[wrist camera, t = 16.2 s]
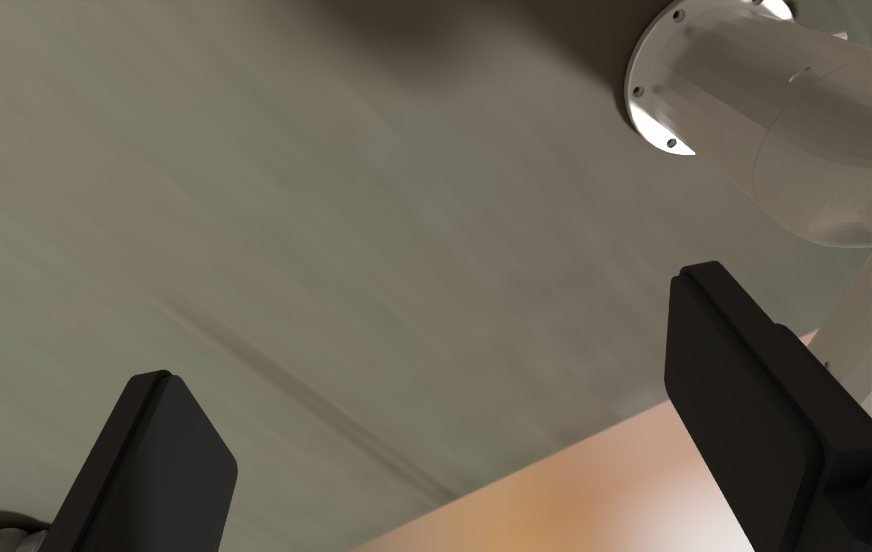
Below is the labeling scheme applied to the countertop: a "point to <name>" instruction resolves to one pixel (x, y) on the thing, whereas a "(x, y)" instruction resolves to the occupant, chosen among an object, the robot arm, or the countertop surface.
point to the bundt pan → (20, 540)
